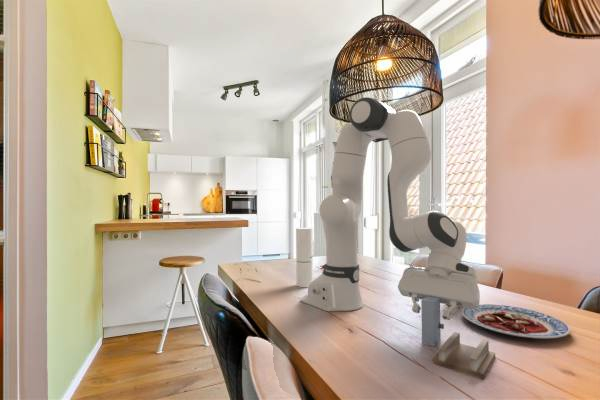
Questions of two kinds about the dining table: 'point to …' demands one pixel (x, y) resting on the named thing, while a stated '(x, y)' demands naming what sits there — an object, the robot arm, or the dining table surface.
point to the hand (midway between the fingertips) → (430, 315)
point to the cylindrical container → (304, 256)
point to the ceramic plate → (516, 321)
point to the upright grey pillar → (431, 320)
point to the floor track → (465, 356)
